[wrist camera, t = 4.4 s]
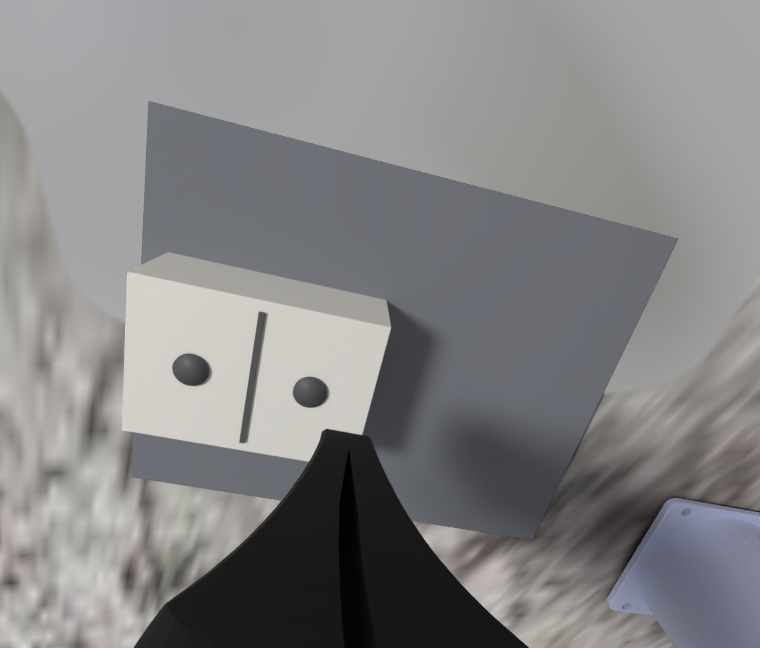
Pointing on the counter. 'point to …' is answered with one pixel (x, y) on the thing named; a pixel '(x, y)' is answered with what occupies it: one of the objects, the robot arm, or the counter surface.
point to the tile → (247, 357)
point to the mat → (411, 311)
